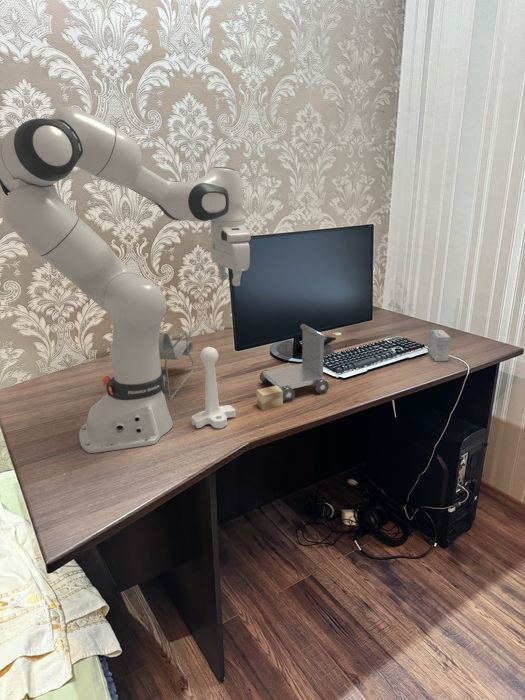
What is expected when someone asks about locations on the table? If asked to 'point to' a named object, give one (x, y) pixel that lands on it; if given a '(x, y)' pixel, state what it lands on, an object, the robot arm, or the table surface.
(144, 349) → the robot arm
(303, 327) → the cart
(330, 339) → the microphone
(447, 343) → the medicine box
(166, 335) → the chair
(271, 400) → the chock
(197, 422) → the joystick
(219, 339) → the table surface
